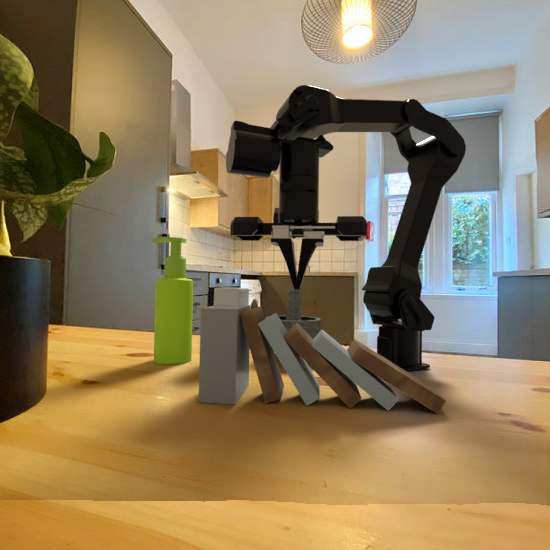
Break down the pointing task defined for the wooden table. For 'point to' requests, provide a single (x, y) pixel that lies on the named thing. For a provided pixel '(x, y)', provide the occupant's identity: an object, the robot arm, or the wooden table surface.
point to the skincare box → (231, 296)
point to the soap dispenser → (173, 308)
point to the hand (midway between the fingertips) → (297, 289)
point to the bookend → (223, 354)
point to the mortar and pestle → (299, 316)
